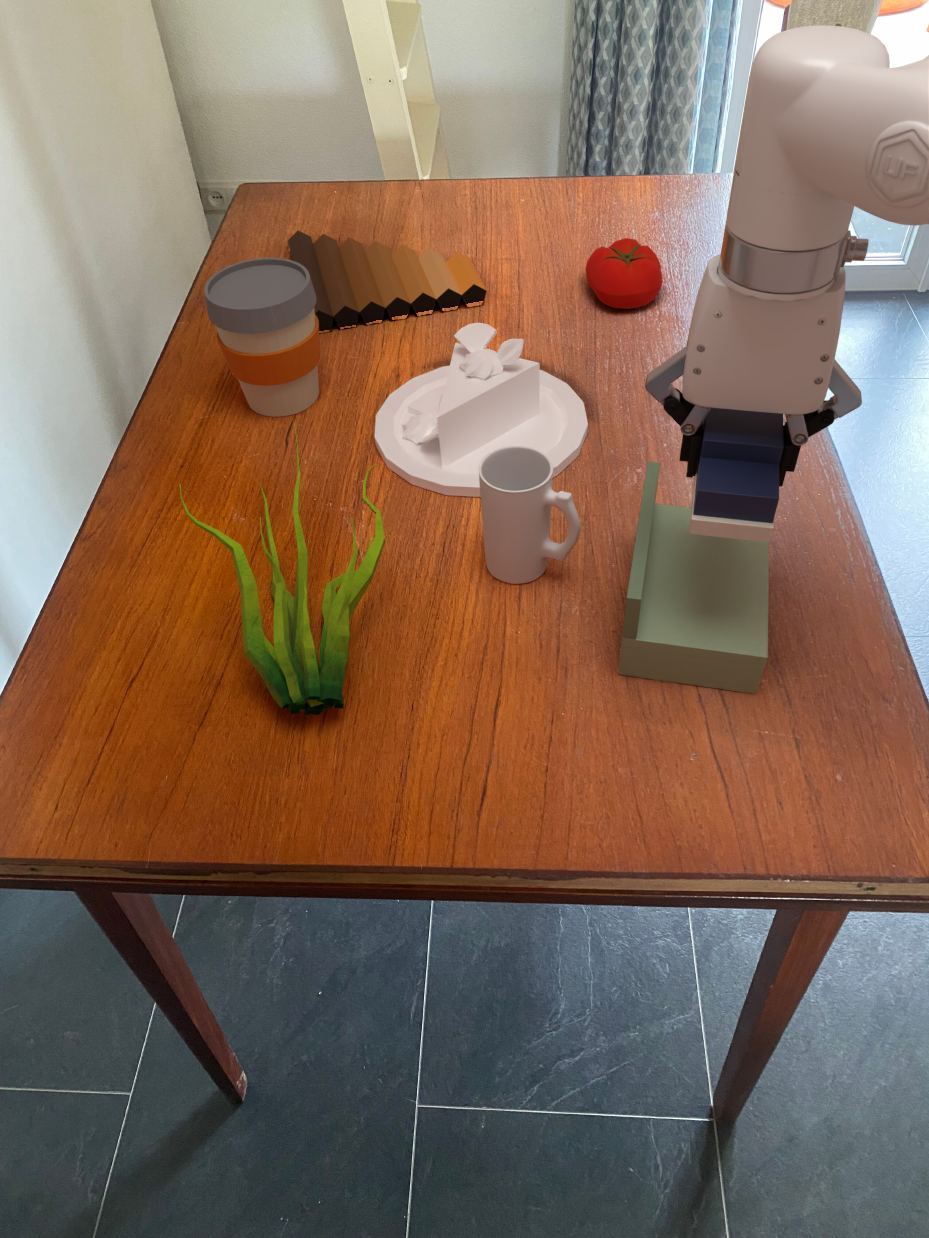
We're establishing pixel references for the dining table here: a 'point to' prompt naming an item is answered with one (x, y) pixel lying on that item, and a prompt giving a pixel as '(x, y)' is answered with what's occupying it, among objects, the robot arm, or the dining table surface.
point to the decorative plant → (301, 618)
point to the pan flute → (381, 279)
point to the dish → (477, 415)
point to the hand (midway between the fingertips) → (734, 469)
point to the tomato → (624, 274)
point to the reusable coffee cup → (268, 332)
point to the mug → (522, 514)
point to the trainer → (737, 475)
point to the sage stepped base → (694, 602)
